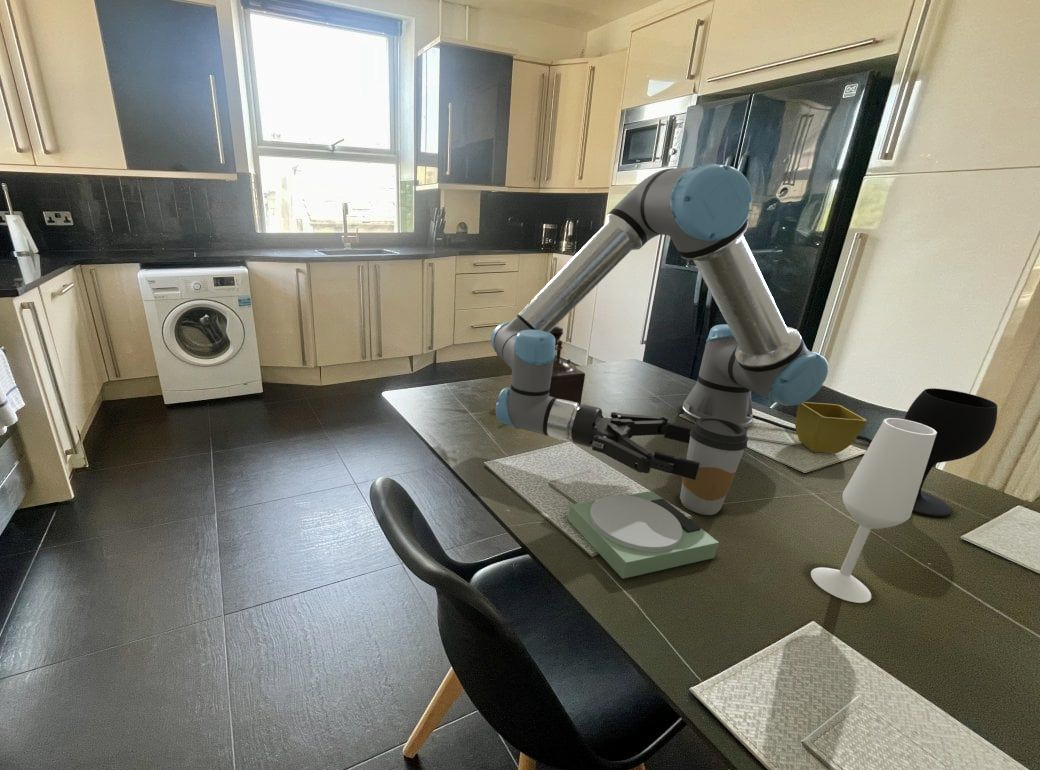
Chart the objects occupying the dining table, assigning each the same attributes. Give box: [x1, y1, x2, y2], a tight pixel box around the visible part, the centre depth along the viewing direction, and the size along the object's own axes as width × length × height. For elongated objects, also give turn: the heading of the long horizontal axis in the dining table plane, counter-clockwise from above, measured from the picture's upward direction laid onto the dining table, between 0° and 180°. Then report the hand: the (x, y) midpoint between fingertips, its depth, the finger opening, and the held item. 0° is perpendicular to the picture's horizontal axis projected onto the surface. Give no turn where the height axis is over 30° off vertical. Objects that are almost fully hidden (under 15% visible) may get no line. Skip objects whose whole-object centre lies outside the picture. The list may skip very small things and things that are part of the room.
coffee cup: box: [679, 417, 749, 516], centre depth 81 cm, size 8×8×15 cm
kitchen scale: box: [567, 490, 720, 580], centre depth 74 cm, size 16×14×4 cm
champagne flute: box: [810, 417, 937, 604], centre depth 62 cm, size 7×7×24 cm
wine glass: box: [904, 387, 998, 518], centre depth 83 cm, size 10×10×20 cm
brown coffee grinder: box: [549, 325, 586, 406], centre depth 124 cm, size 16×11×18 cm
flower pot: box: [794, 401, 868, 454], centre depth 104 cm, size 9×9×9 cm
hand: (701, 454), depth 81 cm, fingers open, 13 cm apart
